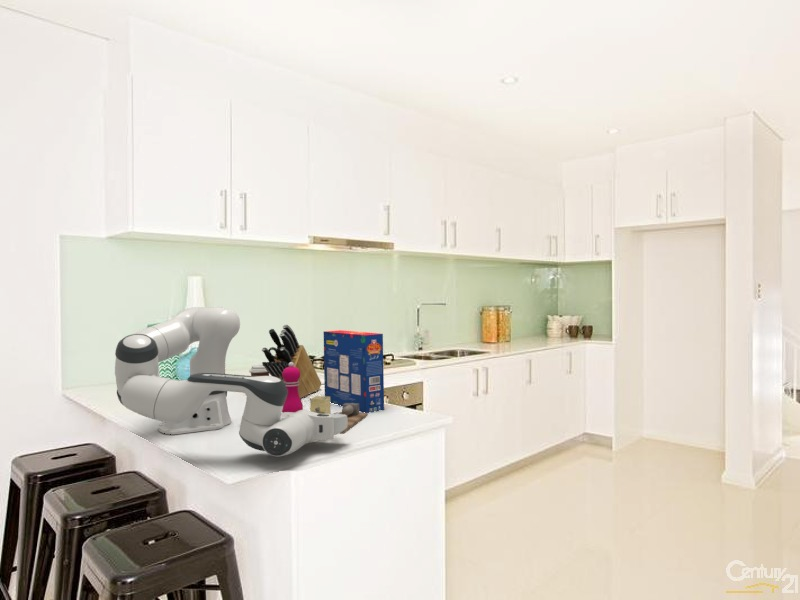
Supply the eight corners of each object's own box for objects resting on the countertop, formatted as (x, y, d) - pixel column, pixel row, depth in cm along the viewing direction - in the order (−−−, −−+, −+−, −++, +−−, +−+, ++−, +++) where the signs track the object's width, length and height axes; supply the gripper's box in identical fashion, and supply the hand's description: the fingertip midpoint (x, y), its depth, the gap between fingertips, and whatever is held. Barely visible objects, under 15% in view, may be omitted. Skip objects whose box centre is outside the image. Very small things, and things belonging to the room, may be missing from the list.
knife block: (260, 405, 210) (258, 325, 209) (298, 389, 244) (297, 320, 244) (287, 406, 207) (285, 325, 207) (322, 389, 241) (320, 320, 241)
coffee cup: (268, 395, 230) (267, 367, 230) (246, 395, 230) (246, 367, 230) (273, 391, 239) (273, 364, 239) (253, 391, 240) (252, 364, 239)
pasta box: (384, 410, 198) (382, 333, 197) (366, 413, 193) (364, 335, 192) (341, 399, 219) (340, 330, 219) (324, 401, 214) (323, 331, 214)
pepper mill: (293, 417, 188) (292, 360, 188) (307, 420, 183) (306, 361, 183) (276, 421, 182) (275, 362, 182) (290, 424, 178) (289, 364, 177)
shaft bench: (343, 433, 166) (343, 418, 166) (313, 431, 168) (313, 417, 168) (367, 415, 189) (367, 402, 189) (340, 414, 191) (340, 401, 191)
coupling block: (324, 440, 158) (324, 399, 158) (310, 439, 159) (309, 399, 159) (331, 436, 163) (330, 396, 163) (317, 435, 164) (316, 395, 164)
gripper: (268, 436, 151) (290, 424, 164) (337, 440, 146) (354, 427, 159) (267, 413, 151) (289, 403, 164) (336, 416, 146) (353, 405, 159)
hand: (321, 415), depth 162 cm, fingers open, 8 cm apart
